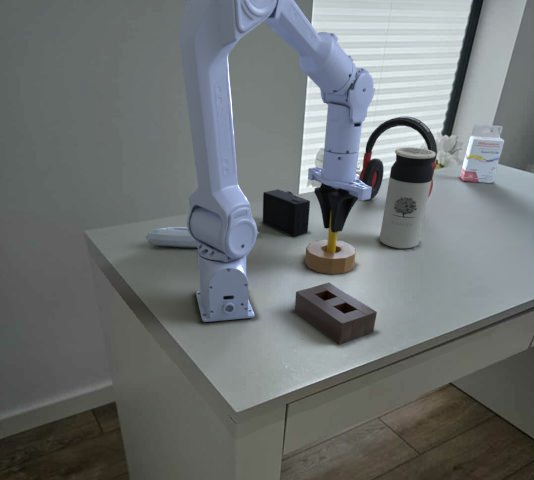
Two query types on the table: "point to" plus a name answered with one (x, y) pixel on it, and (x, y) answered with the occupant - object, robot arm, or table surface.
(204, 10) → the robot arm
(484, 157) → the ink cartridge box
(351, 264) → the tape roll
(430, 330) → the table surface
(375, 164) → the headphones
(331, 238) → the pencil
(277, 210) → the digital camera
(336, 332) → the pencil stand
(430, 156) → the travel mug
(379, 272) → the table surface
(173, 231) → the spaceship
